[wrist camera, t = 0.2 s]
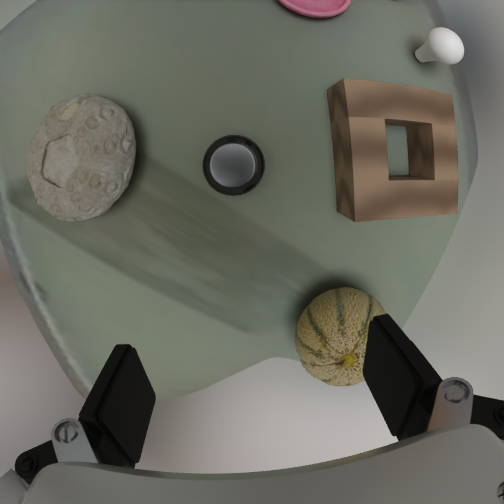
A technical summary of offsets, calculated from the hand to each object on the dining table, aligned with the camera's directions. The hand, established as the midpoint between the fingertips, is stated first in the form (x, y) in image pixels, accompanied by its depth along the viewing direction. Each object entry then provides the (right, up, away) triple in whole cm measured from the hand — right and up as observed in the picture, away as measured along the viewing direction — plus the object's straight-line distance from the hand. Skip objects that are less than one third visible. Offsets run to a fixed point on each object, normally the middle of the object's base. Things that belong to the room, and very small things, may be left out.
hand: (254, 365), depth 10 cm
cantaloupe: (+13, -6, +36) cm, 38 cm away
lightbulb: (+28, +37, +22) cm, 51 cm away
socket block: (+20, +20, +27) cm, 39 cm away
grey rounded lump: (-24, +19, +26) cm, 40 cm away
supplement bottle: (-2, +16, +27) cm, 32 cm away
